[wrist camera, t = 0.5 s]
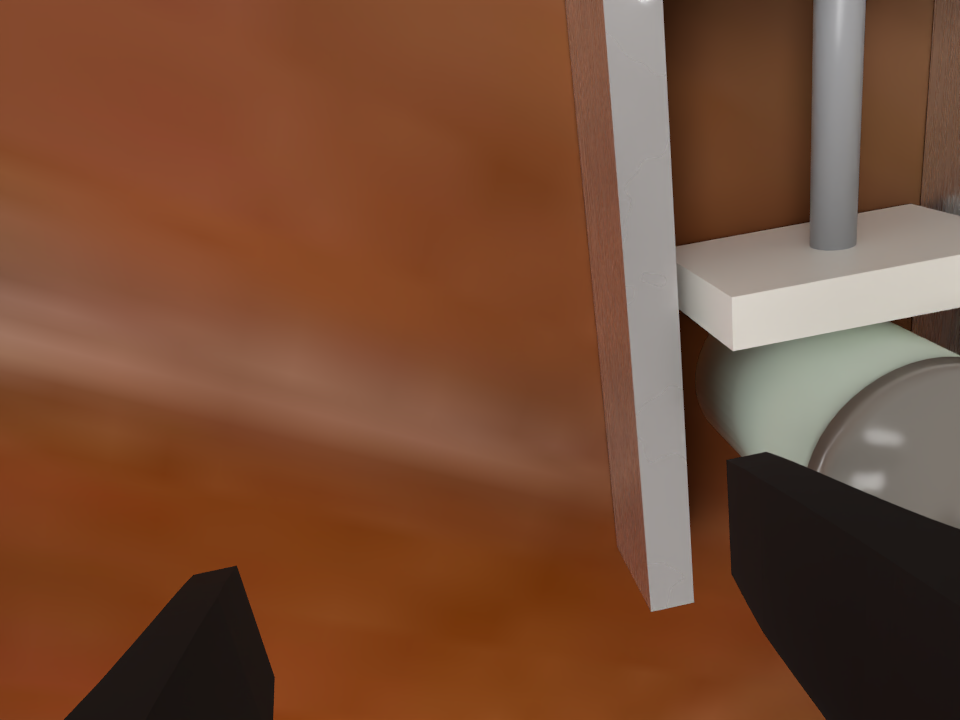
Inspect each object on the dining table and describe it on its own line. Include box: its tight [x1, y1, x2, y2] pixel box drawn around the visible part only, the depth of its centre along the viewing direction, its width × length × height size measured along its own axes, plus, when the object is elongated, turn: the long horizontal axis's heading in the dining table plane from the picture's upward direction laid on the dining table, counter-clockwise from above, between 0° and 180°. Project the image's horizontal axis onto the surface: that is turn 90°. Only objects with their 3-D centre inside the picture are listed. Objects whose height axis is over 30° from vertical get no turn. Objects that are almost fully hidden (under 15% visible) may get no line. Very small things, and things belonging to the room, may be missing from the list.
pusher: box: [676, 0, 960, 351], centre depth 16 cm, size 12×7×4 cm, turn 8°
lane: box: [565, 0, 960, 612], centre depth 18 cm, size 18×10×4 cm, turn 9°
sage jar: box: [695, 321, 960, 529], centre depth 19 cm, size 5×5×7 cm
